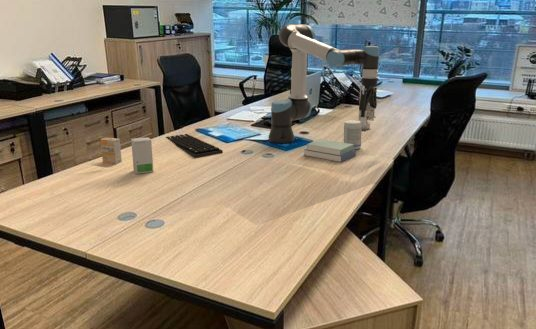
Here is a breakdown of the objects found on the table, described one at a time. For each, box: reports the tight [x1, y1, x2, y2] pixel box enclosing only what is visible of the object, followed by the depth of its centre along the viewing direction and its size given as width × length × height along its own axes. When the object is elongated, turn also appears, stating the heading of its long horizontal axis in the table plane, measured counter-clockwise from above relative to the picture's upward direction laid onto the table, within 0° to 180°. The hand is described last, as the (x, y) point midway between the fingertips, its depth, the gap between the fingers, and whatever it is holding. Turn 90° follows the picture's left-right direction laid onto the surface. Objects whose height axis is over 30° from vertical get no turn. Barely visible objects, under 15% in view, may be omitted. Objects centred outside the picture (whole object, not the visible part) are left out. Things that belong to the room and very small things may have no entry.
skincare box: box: [130, 137, 154, 175], centre depth 208 cm, size 8×7×16 cm
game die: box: [360, 104, 377, 122], centre depth 230 cm, size 9×8×10 cm
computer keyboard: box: [165, 133, 224, 159], centre depth 250 cm, size 45×16×4 cm, turn 34°
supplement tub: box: [343, 119, 363, 150], centre depth 246 cm, size 10×10×15 cm
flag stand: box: [358, 83, 371, 131], centre depth 285 cm, size 13×13×30 cm
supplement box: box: [99, 137, 123, 166], centre depth 219 cm, size 8×5×13 cm, turn 70°
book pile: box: [303, 138, 357, 163], centre depth 232 cm, size 22×15×6 cm
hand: (367, 121), depth 231 cm, fingers closed on game die, 9 cm apart
